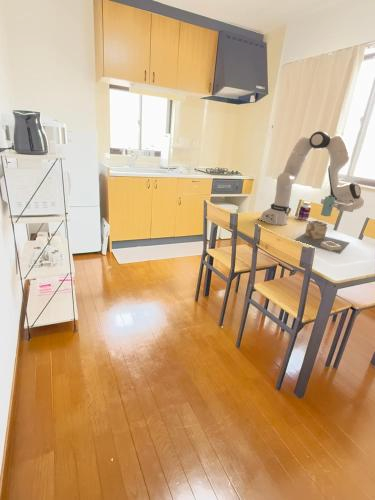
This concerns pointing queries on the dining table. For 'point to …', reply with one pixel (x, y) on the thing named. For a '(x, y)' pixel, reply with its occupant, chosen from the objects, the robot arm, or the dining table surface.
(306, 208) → the pill bottle
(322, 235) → the brown mottled container
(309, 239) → the mat
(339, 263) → the dining table surface
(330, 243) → the lower socket
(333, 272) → the dining table surface
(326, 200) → the plug block
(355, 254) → the dining table surface
